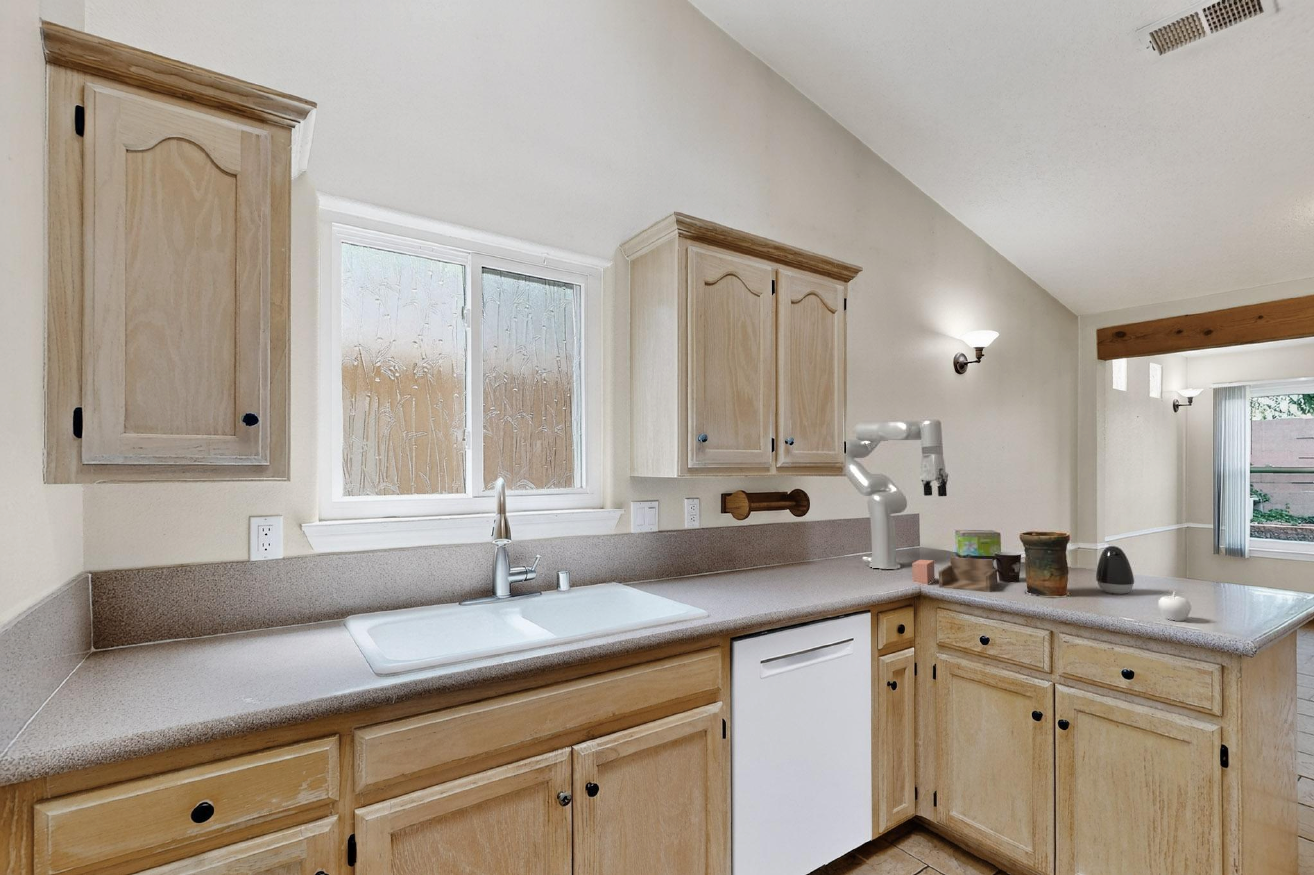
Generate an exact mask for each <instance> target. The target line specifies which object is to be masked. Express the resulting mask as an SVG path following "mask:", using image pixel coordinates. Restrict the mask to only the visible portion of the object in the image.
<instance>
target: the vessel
mask: <svg viewBox="0 0 1314 875" xmlns="http://www.w3.org/2000/svg"><path fill="white" fill-rule="evenodd" d="M1018 538H1019V540H1020V542H1021V543H1022V546H1023V547H1024V548H1023V550H1024V556H1025V558H1024V562H1025V580H1026V581H1025V582H1026V591H1027V592H1028V593H1031V594H1032V595H1039V596H1038V597H1041V598H1042V597H1043V598H1060V597H1061V598H1063V597H1065V598H1066V597H1067V596H1065V595H1069V596H1071V594H1070V592H1069V591H1068V582H1069V573H1070V572H1069V564H1068V557H1067V549H1068V544H1069V543H1070V539H1071V536H1070V533H1068V532H1062V531H1046V530H1045V531H1044V530H1031V531H1026V532H1020V533H1019V537H1018ZM1032 595H1031V596H1032Z"/></svg>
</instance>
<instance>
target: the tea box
mask: <svg viewBox="0 0 1314 875" xmlns="http://www.w3.org/2000/svg"><path fill="white" fill-rule="evenodd" d="M954 536H955V558H970V559H985V560H992V559H993V558H995V552H1002V540H1001V539H1002V537H1001V536H1002V535H1001V533H1000V532H999V531H996V530H992V529H991V530H989V529H987V530H985V529H955V534H954ZM993 563H994V567H995V568H996V569H997V564H996V560H994V561H993Z"/></svg>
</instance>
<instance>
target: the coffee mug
mask: <svg viewBox="0 0 1314 875" xmlns="http://www.w3.org/2000/svg"><path fill="white" fill-rule="evenodd" d="M992 560H993V561H994V560H996V564H997V568H995V567H994V569H997V577H998V581H999V582H1002V583H1012V582H1014V583H1020V578H1021V577H1020V574H1021V564H1022V553H1021V552H1017V551H1016V552H1015V551H1001V552H995V558H993V559H992Z"/></svg>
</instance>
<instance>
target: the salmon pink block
mask: <svg viewBox="0 0 1314 875" xmlns="http://www.w3.org/2000/svg"><path fill="white" fill-rule="evenodd" d="M911 565H912V583H913V582H919V583H922V584H929V583H930V582H932V581H933V582H935V581H936V580H935V579H936V578H935V576H936V575H935V574H936V573H935V560H931V559H918V560H916V561H914V562H912V564H911ZM934 580H935V581H934ZM933 582H932V583H933ZM930 584H931V583H930ZM930 584H929V585H930Z"/></svg>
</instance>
